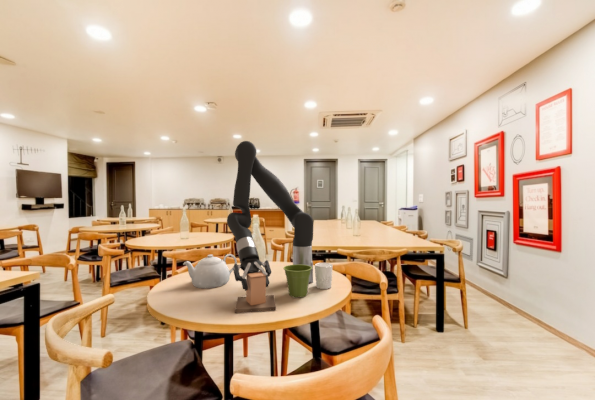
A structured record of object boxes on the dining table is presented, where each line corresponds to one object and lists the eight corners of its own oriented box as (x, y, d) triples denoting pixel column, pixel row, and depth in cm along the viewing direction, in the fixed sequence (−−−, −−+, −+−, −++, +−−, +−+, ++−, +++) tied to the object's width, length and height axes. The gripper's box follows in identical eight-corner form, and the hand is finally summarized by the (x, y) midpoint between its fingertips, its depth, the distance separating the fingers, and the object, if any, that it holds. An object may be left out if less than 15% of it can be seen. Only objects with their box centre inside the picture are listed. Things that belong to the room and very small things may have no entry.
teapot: (221, 290, 112) (221, 259, 112) (182, 288, 115) (182, 258, 115) (237, 278, 130) (237, 251, 130) (203, 276, 133) (203, 250, 133)
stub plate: (273, 297, 103) (273, 283, 103) (275, 310, 91) (275, 294, 91) (237, 300, 101) (237, 285, 101) (235, 312, 89) (235, 296, 89)
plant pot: (314, 291, 111) (314, 264, 111) (309, 301, 99) (308, 272, 99) (288, 289, 114) (288, 263, 114) (279, 298, 102) (279, 270, 102)
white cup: (321, 291, 111) (320, 267, 111) (311, 285, 118) (311, 263, 118) (336, 288, 115) (336, 265, 115) (326, 283, 122) (326, 261, 122)
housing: (260, 297, 100) (260, 271, 100) (265, 302, 95) (265, 275, 95) (246, 300, 97) (246, 273, 97) (251, 305, 92) (251, 277, 92)
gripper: (231, 246, 99) (239, 285, 89) (266, 244, 106) (278, 279, 96) (228, 258, 104) (235, 296, 94) (261, 254, 111) (272, 289, 100)
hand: (257, 287), depth 95 cm, fingers open, 7 cm apart
